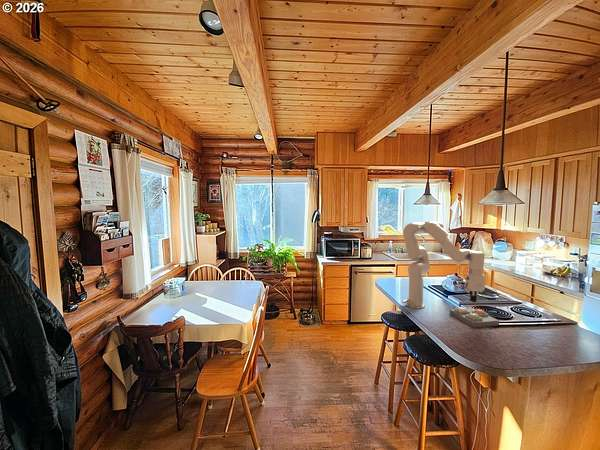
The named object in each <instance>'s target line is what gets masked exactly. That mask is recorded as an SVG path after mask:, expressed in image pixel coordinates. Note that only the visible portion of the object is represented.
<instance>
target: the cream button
mask: <svg viewBox="0 0 600 450" xmlns="http://www.w3.org/2000/svg"><path fill="white" fill-rule="evenodd" d="M457 308H458V310H459V311H461V312H466V309H467V308H465V307H462V306H459V307H457Z"/></svg>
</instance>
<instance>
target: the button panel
mask: <svg viewBox="0 0 600 450" xmlns="http://www.w3.org/2000/svg"><path fill="white" fill-rule="evenodd" d="M476 309H477V308H476ZM476 309H475V308H473V307H471V308H466V312H461V311H459V310H458V307H457V308H456V307H455V308H454V309H449V315H451V316H452V317H454V318H456V319H458V320H460V321H462V322H463V323H465V324H467V325H469V326H471V327H472V328H483V327H496V326H497V327H499V326H500V320H498V319H496V318H495V317H492V316H490V315H489V313H487V312H485V311H484V314H478V313H476ZM470 313H475V314H478V318H472V317H470ZM498 325H499V326H498Z"/></svg>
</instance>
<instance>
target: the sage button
mask: <svg viewBox="0 0 600 450" xmlns="http://www.w3.org/2000/svg"><path fill="white" fill-rule="evenodd" d="M470 317H472V318H478V314H475V313H470Z"/></svg>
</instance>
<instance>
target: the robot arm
mask: <svg viewBox="0 0 600 450" xmlns="http://www.w3.org/2000/svg"><path fill="white" fill-rule="evenodd" d="M421 234H428V235H429V236H430V237H431V238H433V239H434V240H435V241H436V242H437V243H438V244H439V245H440V247H441V249H442V251H443V252H444V253H445V255H447V256H448V257H449V258H450V259H451V260H453V261H454V262H456V263H463V262H468V269H467V270H466V271H467V274H466V277H465V282H464V291H465V292H466V293H468V294H469V295H470V296H469V297H470V298H469V301H470V302H472V303H477V299H478V295H479V294H480V293H483V292H484V291H485V288H486V279H485V277H486V276H485V274H484V268H485V257H486V255H485V253H484V252H483V251H478V250H471V249H467V248H461V249H459V248H458V247H457V246H456V245H454V243H453V242H452V239H451V237H452V236H451V234H450V233H448V231H446V230H445V228H444V224H443V223H442V222H441V221H437V220H435V221H414V222H410V223H408V224H405V226H404V228H403V231H402V236H403V240H404V245H405V250H406V254H407V258H408V259H409V260H411V261H412V262H411V263H409V264H408V267H407V272H408V298H406V299H402V300H401V302H402V304H406V306H407V307H409V308H412V309H421V310H422V309H425V308H426V304H425V303H424V278H423V275H425V274H427V273H429V271H430V270H431V265H430V260H429V255H428V252H427V249H426V248H425V247H423V246H421V245H419V242H418V238H417V237H416V235H421Z"/></svg>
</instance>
